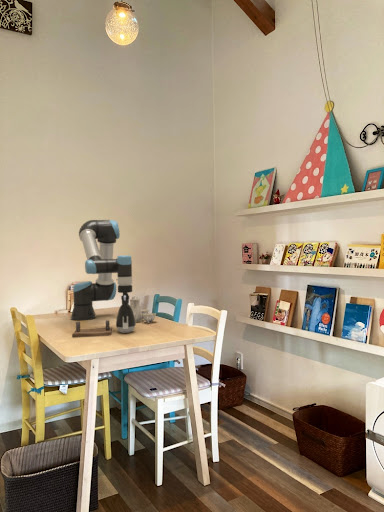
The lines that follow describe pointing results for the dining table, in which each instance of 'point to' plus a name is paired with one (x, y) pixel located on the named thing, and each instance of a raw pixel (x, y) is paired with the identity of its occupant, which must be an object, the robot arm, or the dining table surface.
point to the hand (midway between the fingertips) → (126, 326)
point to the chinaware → (140, 311)
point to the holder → (92, 331)
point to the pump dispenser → (130, 320)
